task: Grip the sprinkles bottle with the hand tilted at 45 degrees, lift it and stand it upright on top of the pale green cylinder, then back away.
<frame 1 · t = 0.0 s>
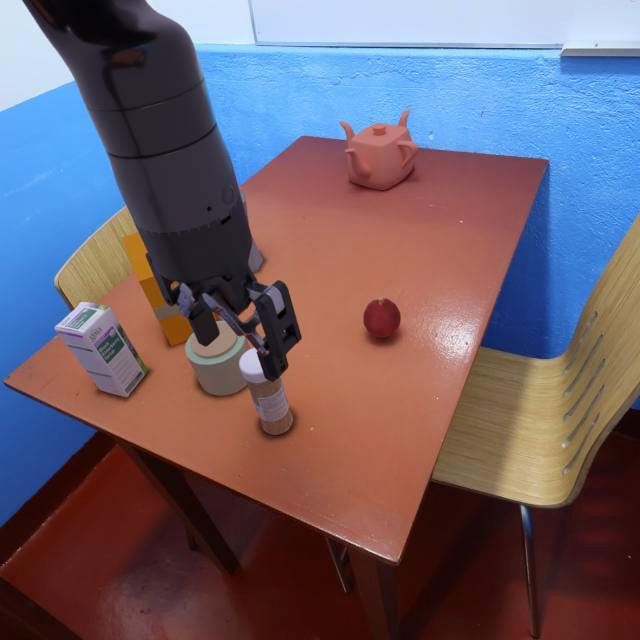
hand: (242, 356, 43), 24 cm above the table, tool pointing down, fingers open, 8 cm apart
pale green cylinder: (227, 373, 74), on the table
sprinkles bottle: (278, 423, 66), on the table
onion: (382, 335, 76), on the table
coffee maker: (240, 263, 96), on the table
syrup box: (124, 382, 76), on the table
pot: (378, 176, 116), on the table
orange juice: (192, 325, 84), on the table
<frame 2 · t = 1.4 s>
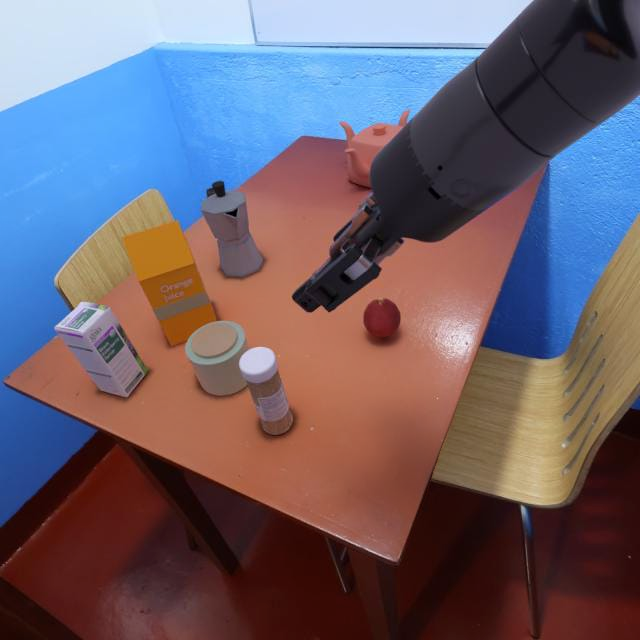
hand: (322, 272, 42), 29 cm above the table, tool tilted 45°, fingers open, 8 cm apart
nothing on the table moved.
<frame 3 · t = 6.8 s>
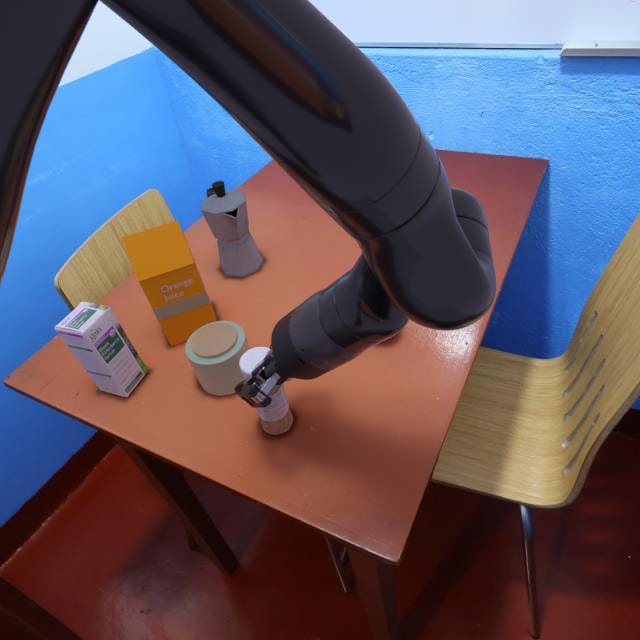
hand: (252, 377, 61), 9 cm above the table, tool tilted 45°, fingers closed on sprinkles bottle, 4 cm apart
sprinkles bottle: (278, 423, 66), on the table, touching gripper
everything else where it was.
when the fingers open (17 cm above the table, at t = 13.8 s): sprinkles bottle stays where it is, resting on pale green cylinder.
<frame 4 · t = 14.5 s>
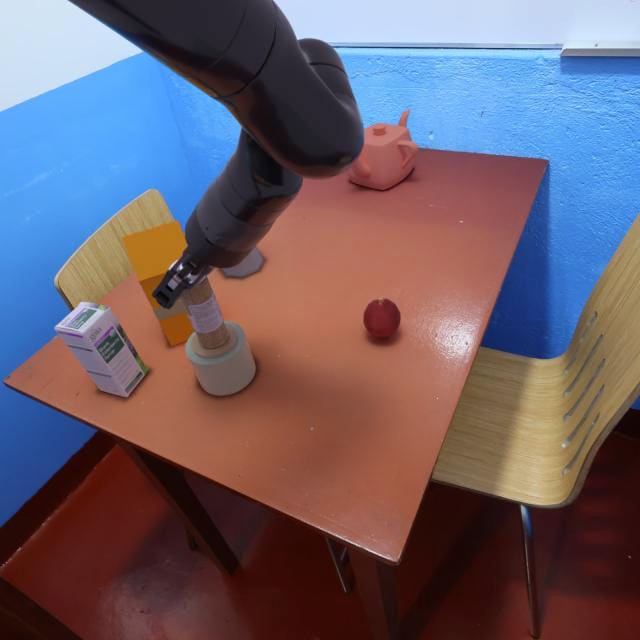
hand: (184, 282, 63), 18 cm above the table, tool tilted 45°, fingers open, 8 cm apart
sprinkles bottle: (215, 339, 69), point 8 cm above the table, touching pale green cylinder
everything else where it was.
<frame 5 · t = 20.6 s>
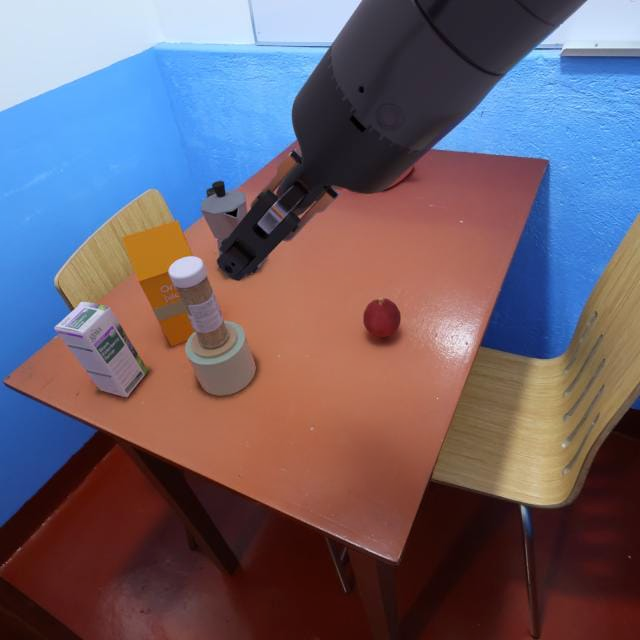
hand: (258, 238, 37), 35 cm above the table, tool tilted 45°, fingers open, 8 cm apart
nothing on the table moved.
at the end: sprinkles bottle 0.2 cm off-centre on the pale green cylinder, point 7.6 cm above the pale green cylinder's base; sprinkles bottle tilted 0°; the gripper is holding nothing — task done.
